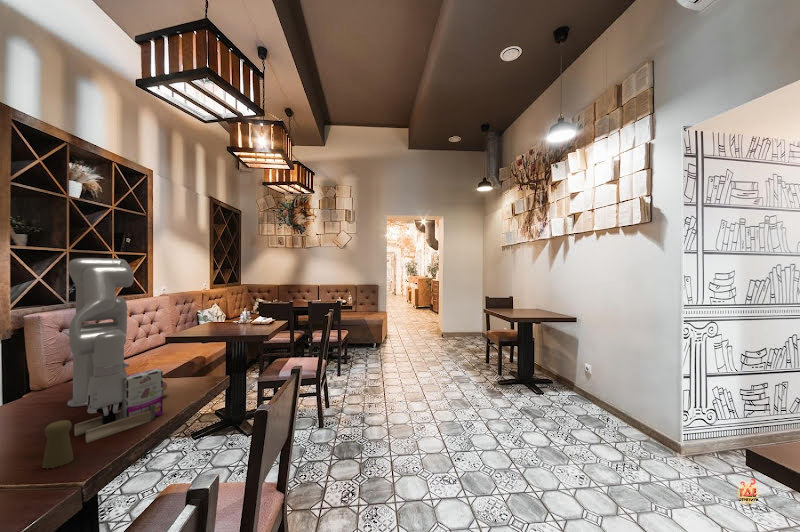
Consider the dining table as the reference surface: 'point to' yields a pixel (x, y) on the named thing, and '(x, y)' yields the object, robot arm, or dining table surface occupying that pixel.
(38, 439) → the dining table surface
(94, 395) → the robot arm
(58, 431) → the cork
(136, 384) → the candy bar box
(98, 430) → the chute
